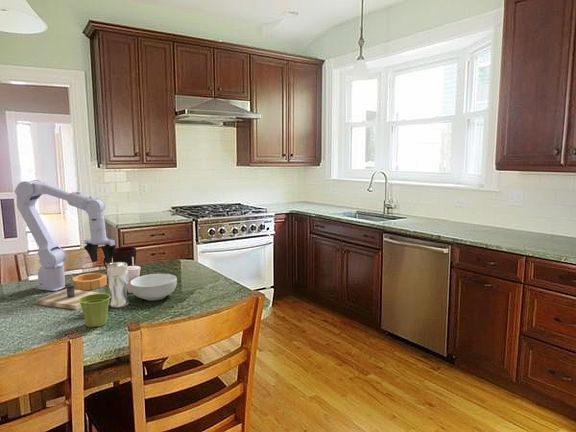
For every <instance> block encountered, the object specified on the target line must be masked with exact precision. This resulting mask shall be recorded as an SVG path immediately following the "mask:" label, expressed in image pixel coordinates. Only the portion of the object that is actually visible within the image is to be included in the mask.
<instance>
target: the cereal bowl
mask: <svg viewBox="0 0 576 432" xmlns="http://www.w3.org/2000/svg"><path fill="white" fill-rule="evenodd" d="M177 284H178V278H177V276H176V275H174V274H169V273H150V274H145V275H141V276H140V275H139V277H137V278H135V279H133V280H132V281H131V282H130V286H131V290H132V292H133V293H132V294H133V295H134V296H135V297H137V298H140V299H144V300H145V301H160V300H163V299H165V298H166V297H167V296H169V295H171V294H172V293H173V292H175V290H176V288H177Z"/></svg>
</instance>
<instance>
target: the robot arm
mask: <svg viewBox="0 0 576 432" xmlns="http://www.w3.org/2000/svg"><path fill="white" fill-rule="evenodd" d="M15 187H16V188H15V189H14V193H15V195H16V207H17V209H18V211H19V213H20V215H21V217H22V219H23V221H24V222H25V224H26V226H27V228H28V230H29V231H30V233H31V235H32V237H33V239H34V240H35V242H36V244H37V247H38V250H37V255H38V257H39V263H40V265H41V266H40V267H39V269H38V271H37V280H38V281H37V282H38V287H36V289H37V290H41V291H42V290H45V291H52V292H58V291H59V290H60V291H61V290H63V289H66V287H65V284H66V278H65V277H66V276H65V275H66V274H65V264H64V261H65V260H66V258H67V253H66V251H65V250H64V249H63V248H62V247H60V245H59V244H58V243H57V242H55V241H54V240H53V238H52V237H51V234H50V232H49V231H48V229H47V227H46V225H45V223H44V221H43V220H42V218H41V217H40V214H39V212H38V210H37V208H36V207H35V205H36V203H37V201H38V199H39V198H40V197H42V196H43V195H49V196H51V197H55V198H58V199H61V200H64V201H66V202H67V204H68V205H69V206H71V207H74V208H77V209H79V210H82V211H85V213H86V214H88V223H89V231H90V238H87V239H84V241H83V242H84V245H85V246H84V247H83V248H84V250H85V251H86V252H87V254H88V256H89V258H90V260H91V262H92V263H96V262H98V260H99V258H98V248H99V246H101V247H100V248H101V250H102V252H103V255H104V258H105V264H110V263H112V262H113V258H112V255H113V251H114V249H115V248H117V245H116V243H115V242H116V241H115V239H110V238H109V237H107V229H106V221H105V214H104V212H105V211H104V210H105V208H106V203H105V202H104V201H103V200H102V199H100V198H99V197H96V198H94V197H93V196H92V195H91V196H88V195H85V194H83V193H82V191H79V190H78V191H72V192H69V191H66V190H65V189H64V190H63V188H60V187H57V186H55V185H53V184H49V183H48V182H45V181H41V180H39V179H34V180H29V181H26V180H25V181H20V182H19V183H17V185H16V186H15Z"/></svg>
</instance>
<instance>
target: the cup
mask: <svg viewBox="0 0 576 432" xmlns="http://www.w3.org/2000/svg"><path fill="white" fill-rule="evenodd" d="M132 257H134V266H136V262H137V248H136V247H133V246H121V247H115V249H114V251H113V255H112V263H115V262H125V263H127V267H128V266H132ZM102 262H103V266H104V267H105V268H106V270H107V269H108V266H107V263H106V261H105V257H104V258H103V261H102Z"/></svg>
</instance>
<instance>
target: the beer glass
mask: <svg viewBox="0 0 576 432" xmlns="http://www.w3.org/2000/svg"><path fill="white" fill-rule="evenodd" d="M106 266H107V268H108V269H106V270H107V273H106V275H107V284H108V288H109V290H110V296H111V298H110V299H111V300H110V307H112V308H123V307H124V308H125V307H127V306H128V305H129V302H130V301H129V298H128V288H127V287H128V267H127V263H125V262H115V263H113V262H110V263H107V264H106Z"/></svg>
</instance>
